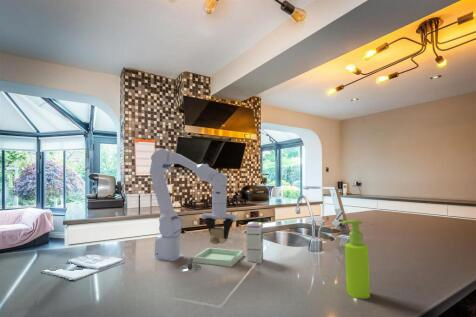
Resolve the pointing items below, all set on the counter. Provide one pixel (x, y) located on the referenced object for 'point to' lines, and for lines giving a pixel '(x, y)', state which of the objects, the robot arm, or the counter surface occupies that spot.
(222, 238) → the tan wooden hollow block
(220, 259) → the tray
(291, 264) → the counter surface
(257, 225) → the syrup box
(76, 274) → the bicycle print towel
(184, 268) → the silver knobbed lid
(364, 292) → the soap dispenser
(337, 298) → the counter surface
